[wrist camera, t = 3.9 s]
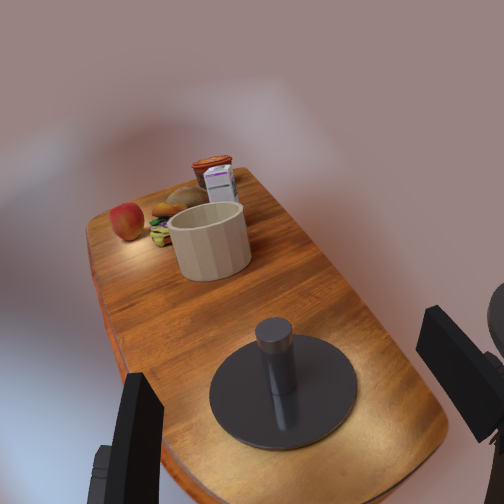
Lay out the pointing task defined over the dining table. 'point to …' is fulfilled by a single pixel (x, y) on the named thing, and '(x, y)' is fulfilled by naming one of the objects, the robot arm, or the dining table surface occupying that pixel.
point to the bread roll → (189, 196)
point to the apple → (127, 221)
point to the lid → (282, 389)
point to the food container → (205, 164)
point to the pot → (210, 240)
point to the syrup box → (221, 184)
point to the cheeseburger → (164, 221)
